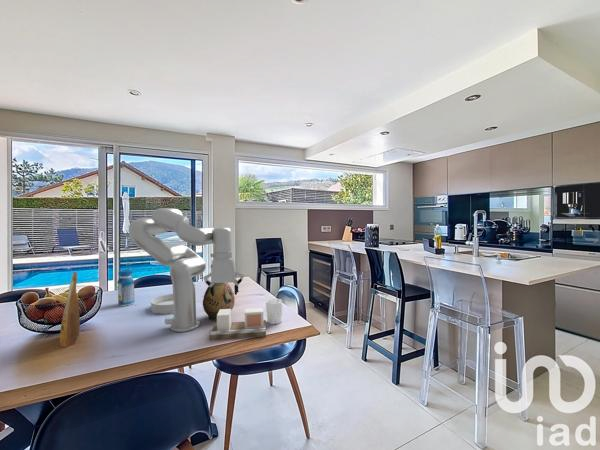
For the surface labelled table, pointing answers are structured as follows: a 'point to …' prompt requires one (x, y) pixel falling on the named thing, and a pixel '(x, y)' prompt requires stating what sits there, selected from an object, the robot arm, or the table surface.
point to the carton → (254, 318)
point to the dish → (163, 304)
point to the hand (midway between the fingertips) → (224, 294)
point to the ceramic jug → (218, 299)
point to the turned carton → (224, 320)
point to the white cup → (274, 311)
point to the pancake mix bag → (70, 316)
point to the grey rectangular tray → (237, 331)
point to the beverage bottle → (125, 288)
